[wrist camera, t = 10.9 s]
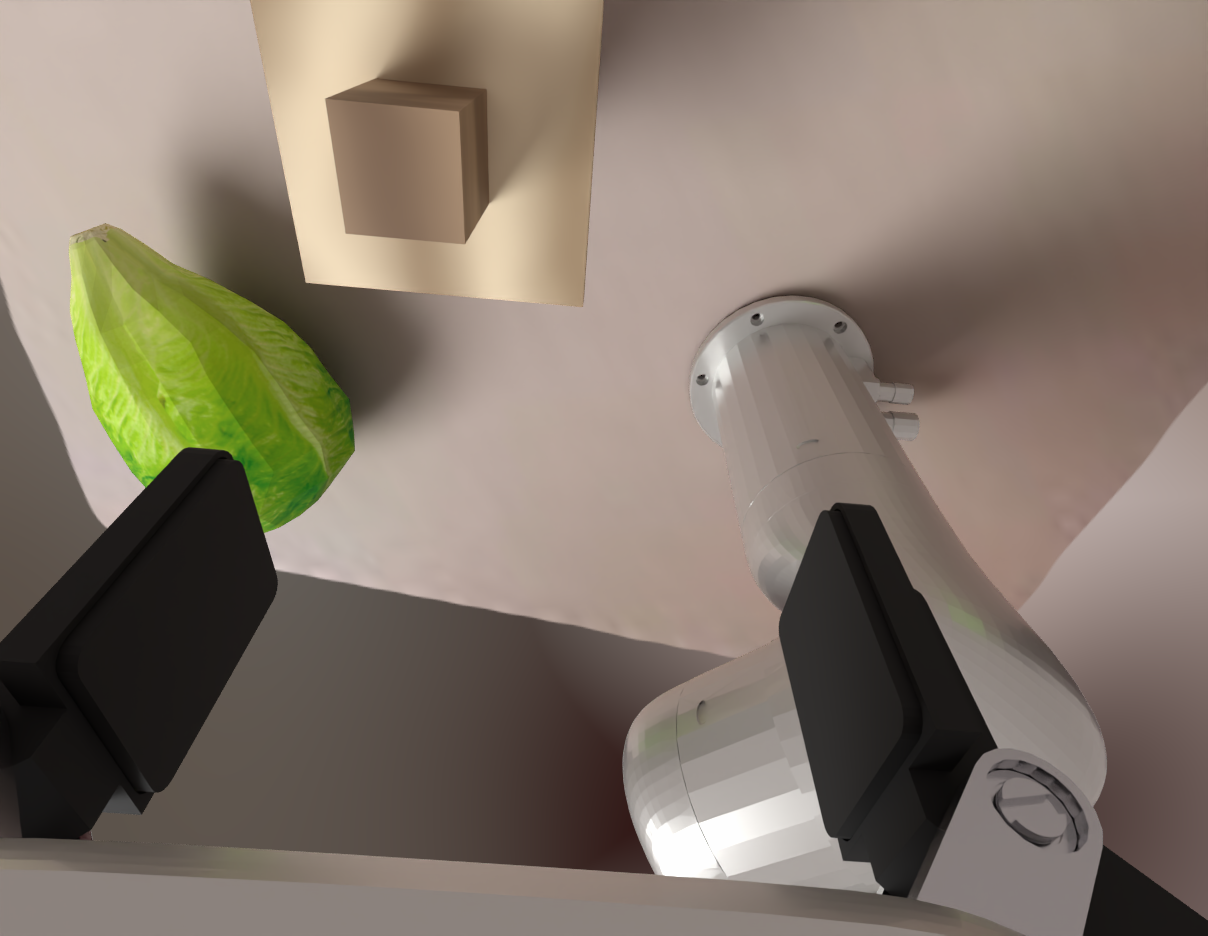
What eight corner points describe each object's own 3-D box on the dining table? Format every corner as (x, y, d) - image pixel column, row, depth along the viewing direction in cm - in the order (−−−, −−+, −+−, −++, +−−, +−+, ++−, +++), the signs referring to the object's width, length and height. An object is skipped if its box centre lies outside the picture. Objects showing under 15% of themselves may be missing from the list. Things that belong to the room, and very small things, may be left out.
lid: (606, -38, 22) (602, -43, 17) (584, 296, 30) (576, 360, 25) (251, -75, 22) (143, -91, 17) (316, 272, 29) (253, 332, 24)
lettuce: (252, 164, 39) (130, 225, 29) (407, 435, 50) (356, 543, 41) (65, 231, 41) (-103, 306, 32) (253, 474, 53) (171, 583, 43)
